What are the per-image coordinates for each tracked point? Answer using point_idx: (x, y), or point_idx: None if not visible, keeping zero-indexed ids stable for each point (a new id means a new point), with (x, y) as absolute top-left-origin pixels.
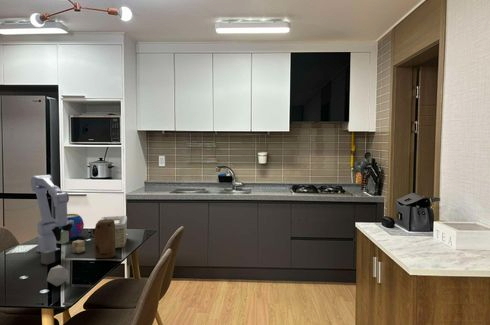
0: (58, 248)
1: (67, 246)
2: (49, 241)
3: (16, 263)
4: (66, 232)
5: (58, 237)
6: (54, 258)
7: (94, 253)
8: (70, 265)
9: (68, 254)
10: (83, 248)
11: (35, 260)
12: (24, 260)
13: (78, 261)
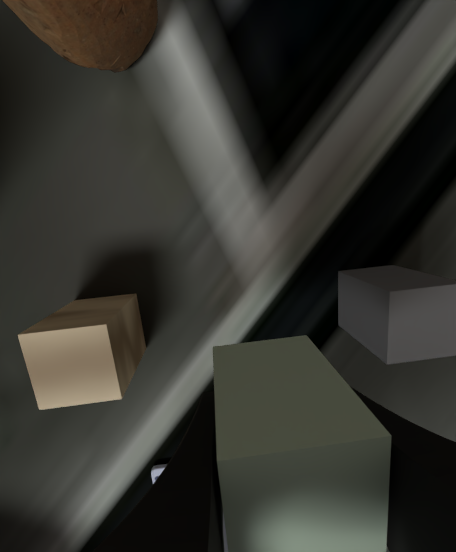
0: (156, 479)
1: (83, 484)
2: (227, 549)
3: (435, 431)
4: (265, 433)
5: None
6: (353, 275)
7: (147, 18)
8: (356, 92)
9: (194, 328)
10: (76, 306)
11: (364, 395)
12: None
13: (269, 116)
